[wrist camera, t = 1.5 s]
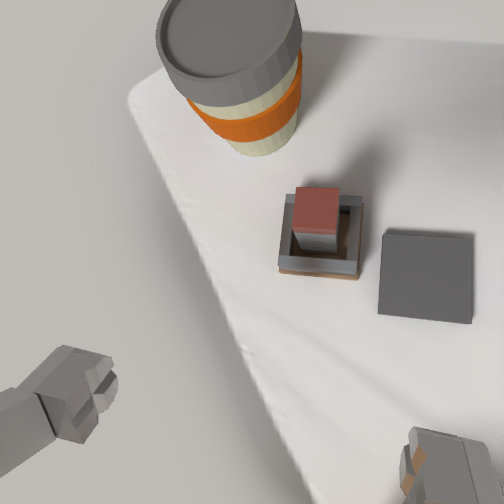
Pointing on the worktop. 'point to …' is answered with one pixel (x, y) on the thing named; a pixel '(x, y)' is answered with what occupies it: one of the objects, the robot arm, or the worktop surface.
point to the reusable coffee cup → (236, 67)
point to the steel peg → (316, 219)
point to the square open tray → (323, 264)
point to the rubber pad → (426, 278)
